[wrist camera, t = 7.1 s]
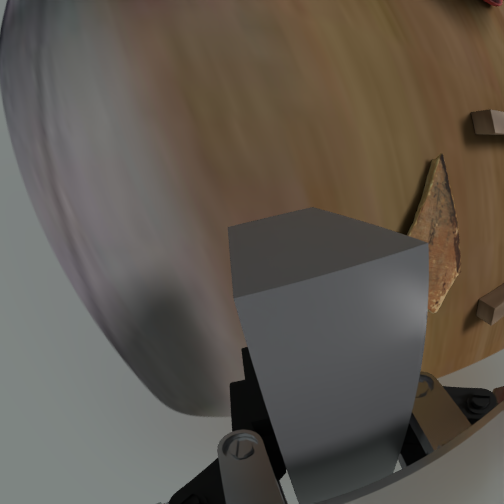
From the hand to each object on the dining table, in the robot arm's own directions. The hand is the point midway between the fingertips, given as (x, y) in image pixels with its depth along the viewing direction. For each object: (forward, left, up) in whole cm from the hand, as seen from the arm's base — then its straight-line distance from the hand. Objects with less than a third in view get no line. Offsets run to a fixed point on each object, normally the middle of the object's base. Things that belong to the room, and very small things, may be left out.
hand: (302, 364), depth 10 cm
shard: (0, +12, -8) cm, 14 cm away
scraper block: (0, 0, -1) cm, 1 cm away
